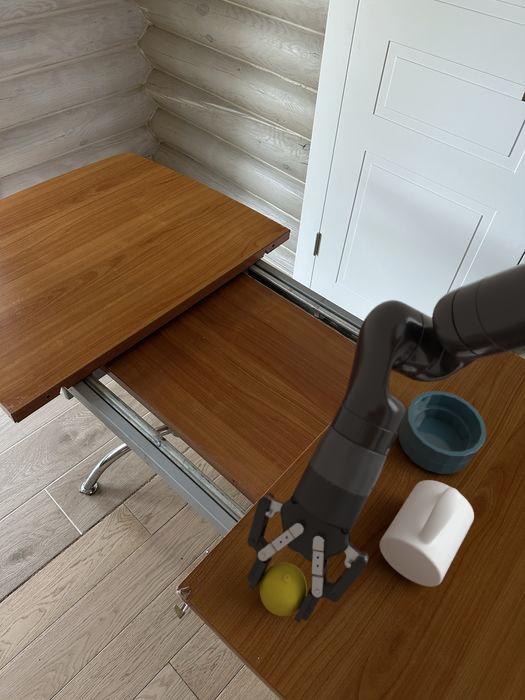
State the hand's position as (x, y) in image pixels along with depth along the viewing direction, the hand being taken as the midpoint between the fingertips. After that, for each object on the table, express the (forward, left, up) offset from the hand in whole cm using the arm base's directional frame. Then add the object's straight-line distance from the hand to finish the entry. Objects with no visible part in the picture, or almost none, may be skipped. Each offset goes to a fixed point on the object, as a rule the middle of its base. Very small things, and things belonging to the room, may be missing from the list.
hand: (275, 601), depth 59 cm
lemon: (0, -2, -4) cm, 5 cm away
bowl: (+1, -36, -4) cm, 36 cm away
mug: (-7, -21, -4) cm, 22 cm away
